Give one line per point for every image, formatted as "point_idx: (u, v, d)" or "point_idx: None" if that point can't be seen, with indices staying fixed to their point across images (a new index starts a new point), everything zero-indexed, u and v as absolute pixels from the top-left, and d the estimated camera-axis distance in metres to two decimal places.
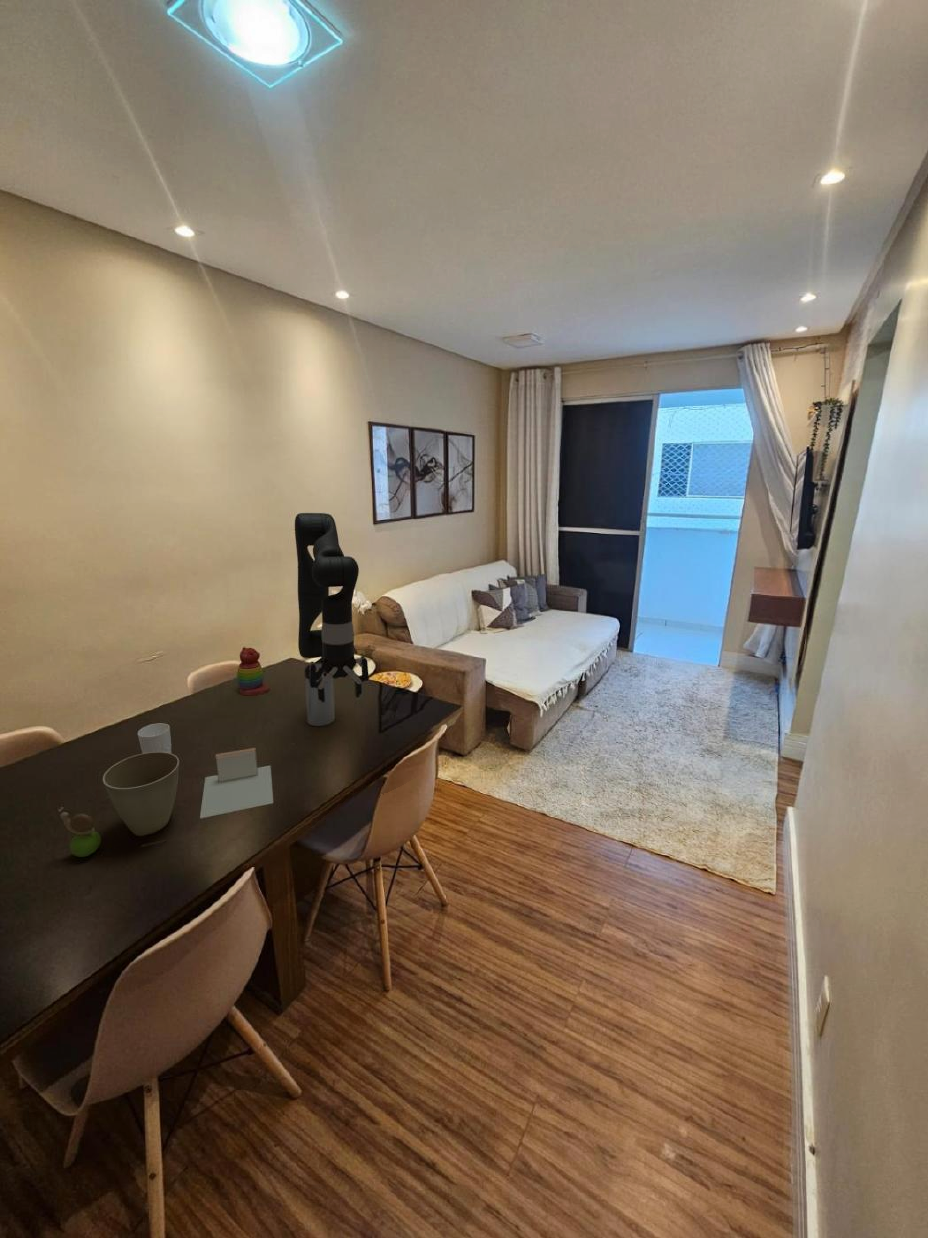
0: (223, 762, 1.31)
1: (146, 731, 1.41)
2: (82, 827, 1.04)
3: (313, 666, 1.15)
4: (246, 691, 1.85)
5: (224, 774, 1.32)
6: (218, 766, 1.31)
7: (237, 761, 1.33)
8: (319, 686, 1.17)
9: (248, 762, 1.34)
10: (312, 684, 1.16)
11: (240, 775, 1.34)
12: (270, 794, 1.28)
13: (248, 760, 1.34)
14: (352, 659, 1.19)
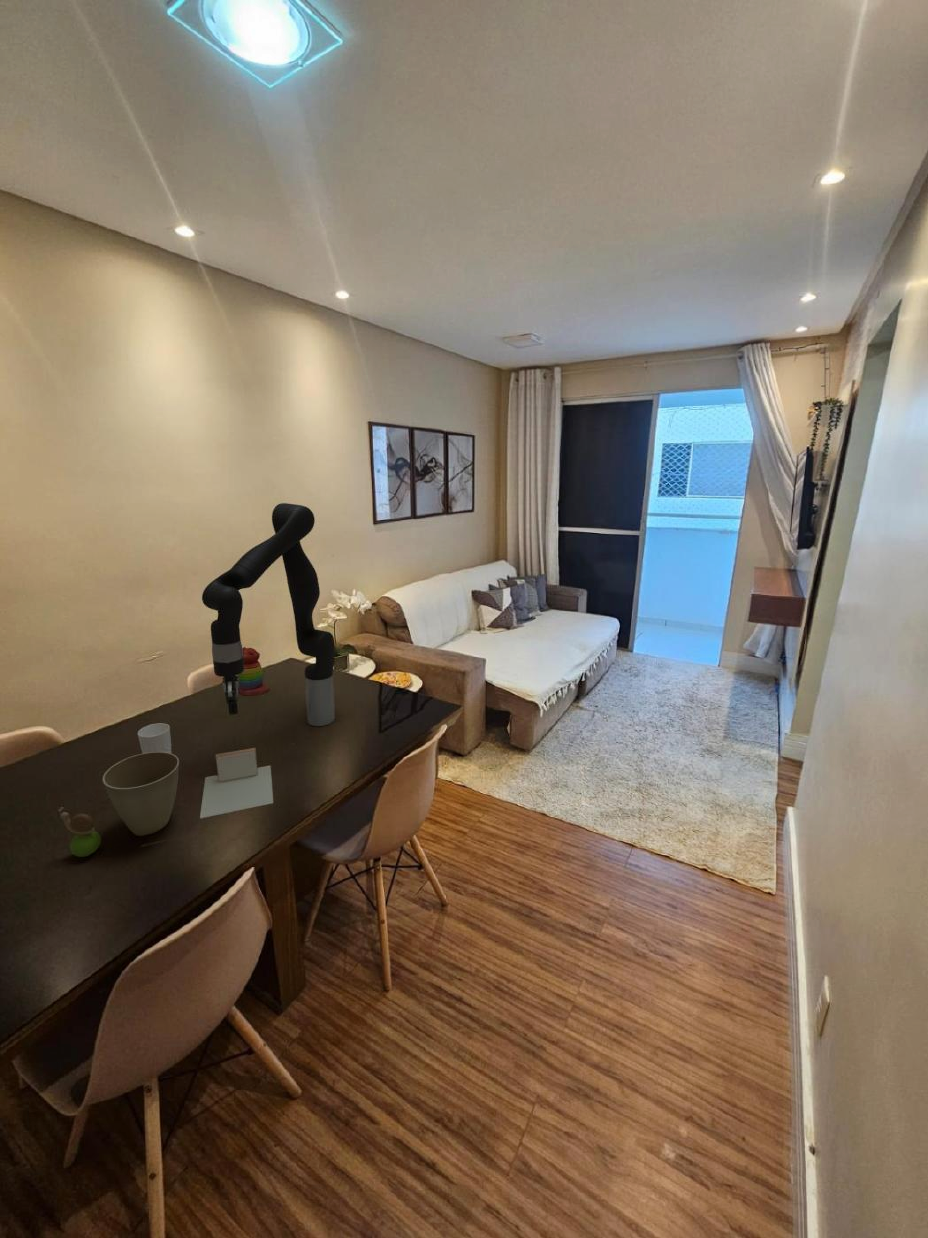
0: (223, 762, 1.31)
1: (146, 731, 1.41)
2: (82, 827, 1.04)
3: (235, 691, 1.29)
4: (246, 691, 1.85)
5: (224, 774, 1.32)
6: (218, 766, 1.31)
7: (237, 761, 1.33)
8: (236, 699, 1.35)
9: (248, 762, 1.34)
10: (236, 700, 1.33)
11: (240, 775, 1.34)
12: (270, 794, 1.28)
13: (248, 760, 1.34)
14: None
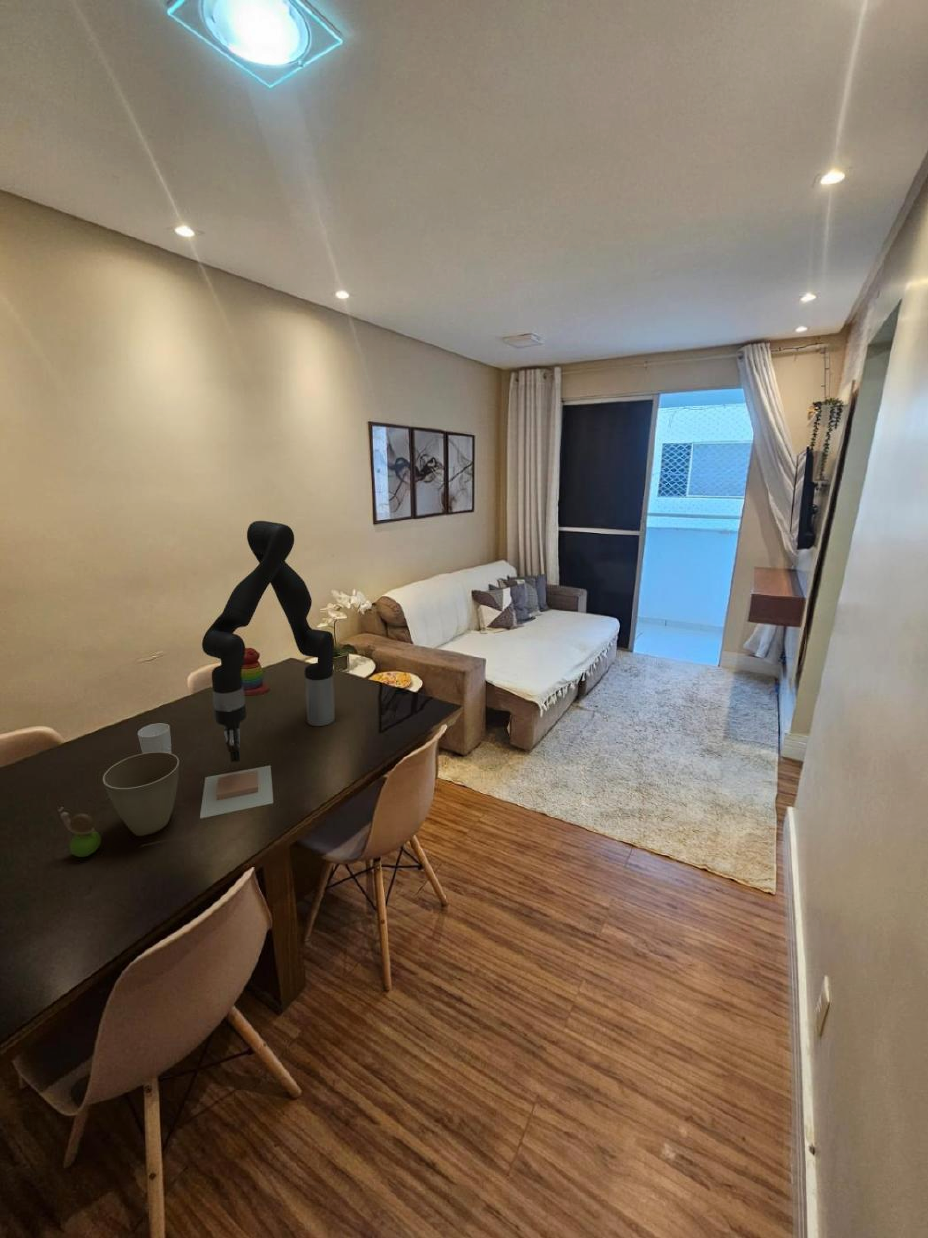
0: None
1: (146, 731, 1.41)
2: (82, 827, 1.04)
3: (236, 741, 1.25)
4: (246, 691, 1.85)
5: None
6: None
7: None
8: (238, 746, 1.31)
9: None
10: (238, 748, 1.29)
11: None
12: (270, 794, 1.28)
13: None
14: None
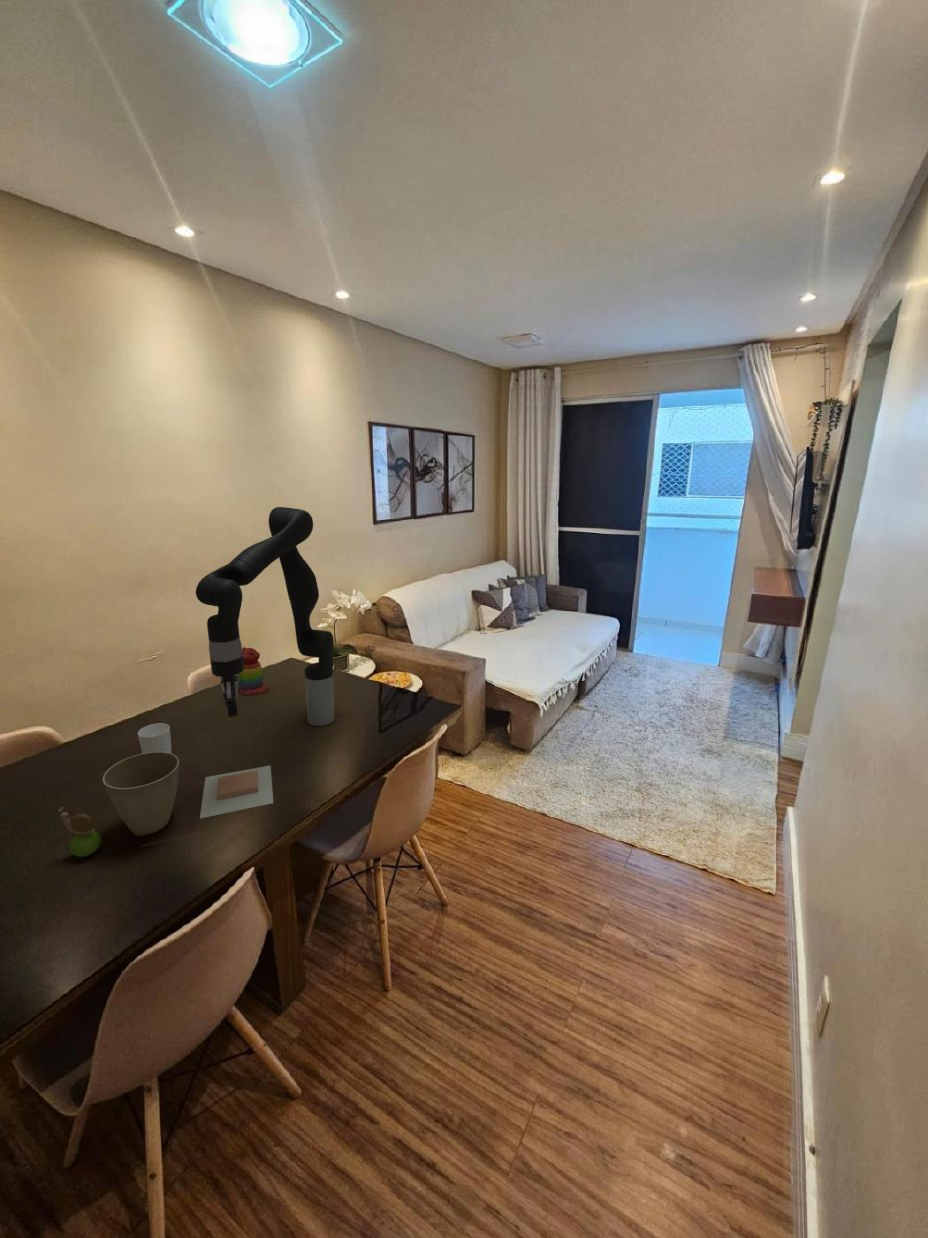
0: None
1: (146, 731, 1.41)
2: (82, 827, 1.04)
3: (234, 693, 1.20)
4: (246, 691, 1.85)
5: None
6: None
7: None
8: (236, 700, 1.26)
9: None
10: (236, 701, 1.24)
11: None
12: (270, 794, 1.28)
13: None
14: None
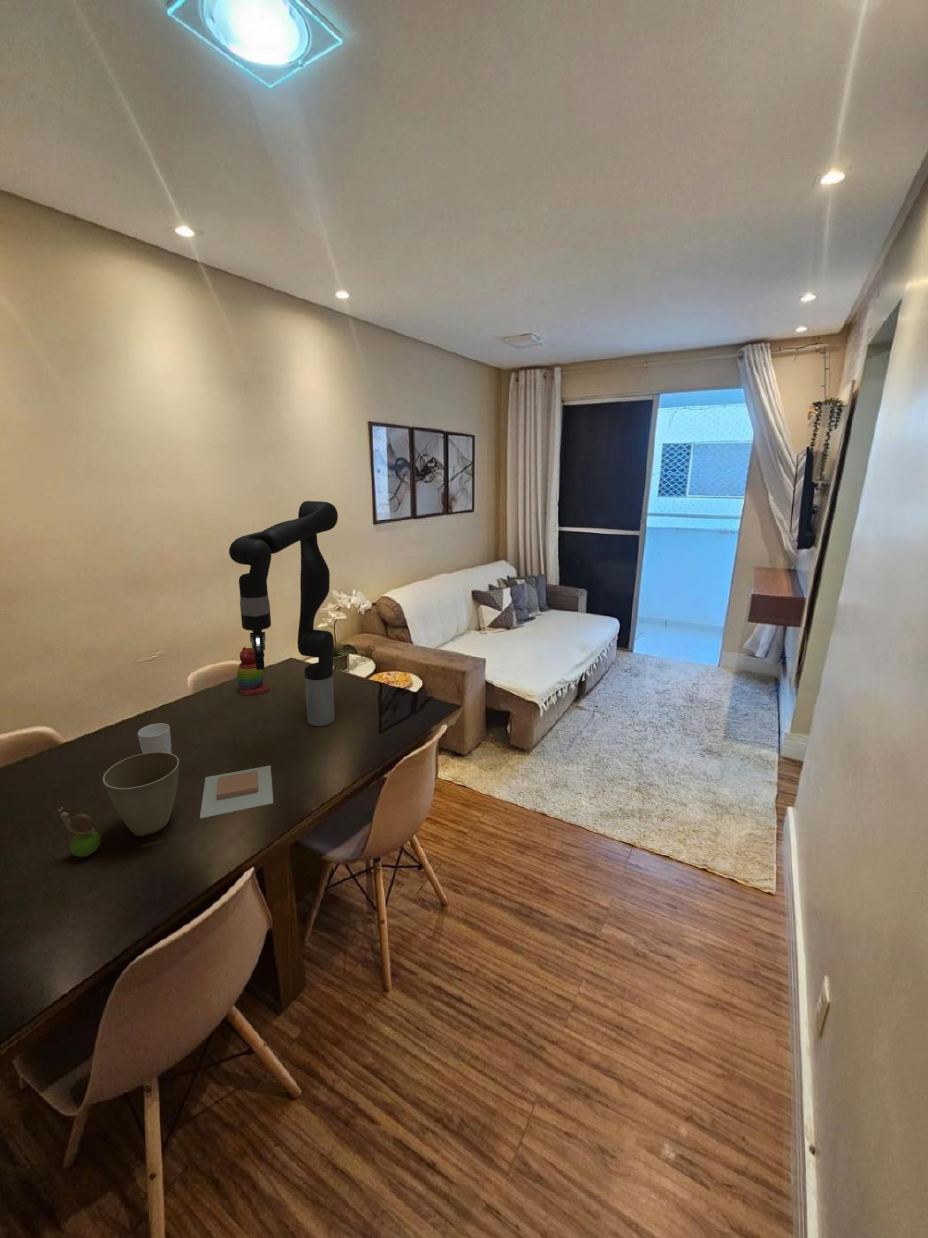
0: None
1: (146, 731, 1.41)
2: (82, 827, 1.04)
3: (263, 645, 1.31)
4: (246, 691, 1.85)
5: None
6: None
7: None
8: None
9: None
10: None
11: None
12: (270, 794, 1.28)
13: None
14: None
